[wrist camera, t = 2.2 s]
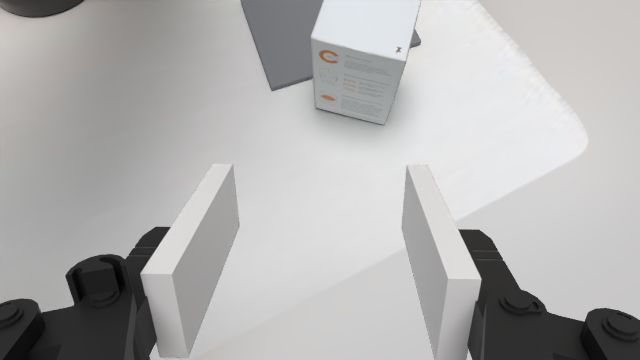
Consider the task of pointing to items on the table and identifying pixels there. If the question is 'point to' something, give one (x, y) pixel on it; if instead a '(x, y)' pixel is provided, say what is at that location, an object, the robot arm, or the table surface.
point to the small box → (361, 55)
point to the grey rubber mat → (286, 37)
